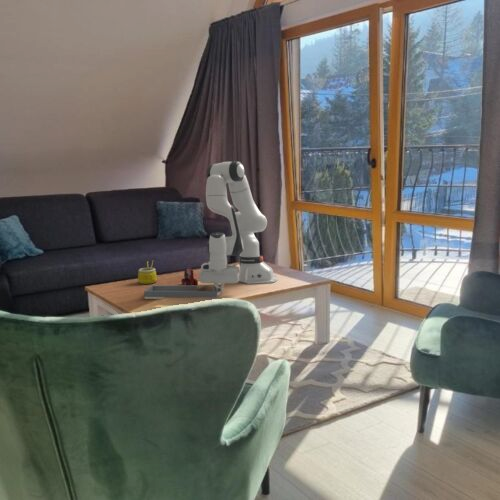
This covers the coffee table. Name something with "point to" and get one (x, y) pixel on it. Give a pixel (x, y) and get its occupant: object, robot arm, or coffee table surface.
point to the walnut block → (205, 288)
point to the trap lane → (178, 292)
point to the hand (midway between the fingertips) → (219, 291)
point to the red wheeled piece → (189, 277)
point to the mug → (147, 275)
